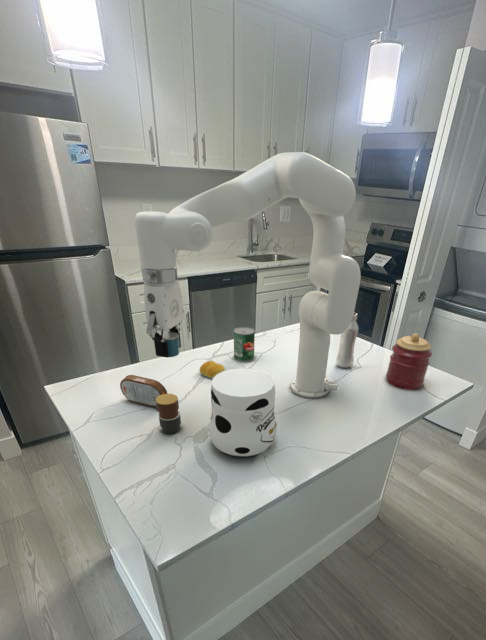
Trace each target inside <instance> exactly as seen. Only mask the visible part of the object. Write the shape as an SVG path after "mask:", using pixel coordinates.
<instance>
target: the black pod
mask: <svg viewBox="0 0 486 640" xmlns="http://www.w3.org/2000/svg"><path fill="white" fill-rule="evenodd" d="M158 421H159V422H158V423H159V426H160V428H161V431H162V433H164V434H167V435H173V434H177V433H179V432H180V430H181V425H182V418H181V412H180V410H178V416H177V417H175V418H173V419H163V418H161V417H160V415H159V414H158Z"/></svg>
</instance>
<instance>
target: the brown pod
mask: <svg viewBox="0 0 486 640" xmlns="http://www.w3.org/2000/svg"><path fill="white" fill-rule="evenodd" d="M156 405H157V407H156V410H157V412H158V416H159V415H160V417H161V418H163V419H173V418H175V417H177V416H178V411H179V409H180V405H179V397H178V396H177V395H176V394H174V393H168V394H162V395H160V396H158V397H157V398H156Z"/></svg>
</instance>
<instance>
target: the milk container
mask: <svg viewBox="0 0 486 640" xmlns="http://www.w3.org/2000/svg"><path fill="white" fill-rule="evenodd" d="M211 379H212V380H211V386H210V401H211V417H210V420H209V436H210V439H211V442H212V444H213V445H214V447H215V448H216V449H217V450H219V451H220V452H221V453H223V454H226V455H229V456H232V457H240V458H247V457H255V456H258V455H260V454H263V453H265V452H266V451H268V450H269V449H271V447H272V446H273V444H274V442H275V440H276V437H277V433H278V424H277V419H276V415H275V406H276V405H275V404H276V385H275V379H274V378H273V377H272V376H271V374H269V373H267V372H266V371H262V370H259V369H255V368H244V367H241V368H232V369H231V368H230V369H225V371H223V372H221V373H219V374H217V375H216V376H215V377H214V378H211Z"/></svg>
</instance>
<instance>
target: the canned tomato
mask: <svg viewBox="0 0 486 640" xmlns="http://www.w3.org/2000/svg"><path fill="white" fill-rule="evenodd" d="M255 332H256V330H255V329H254V328H252V327H250V326H249V327H248V326H239V327H236V328H233V359H234V360H235V361H237V362H240V363H248V362H252V361H255V340H256V339H255V337H256V336H255V335H256V334H255Z"/></svg>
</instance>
